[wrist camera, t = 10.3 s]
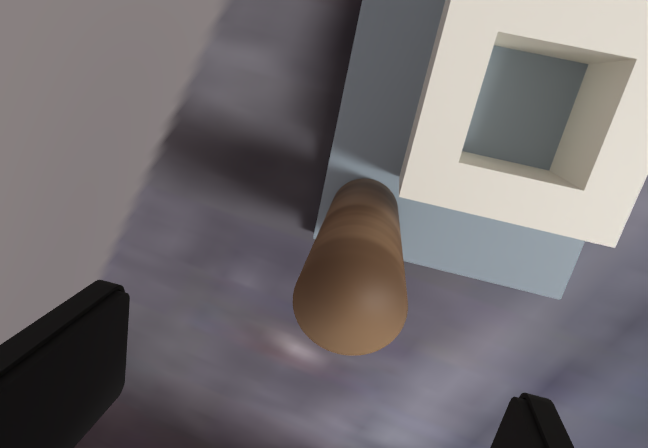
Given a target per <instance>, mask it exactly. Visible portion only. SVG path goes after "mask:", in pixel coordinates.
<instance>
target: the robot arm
mask: <svg viewBox="0 0 648 448" xmlns="http://www.w3.org/2000/svg"><path fill="white" fill-rule="evenodd" d="M129 301H130V298H129V294H128V293H125V290H124V287H123V286H121V285H118V284H114V283H111V282H107V281H103V280H97V281H95V282H94V283H92V284H90V285H89V286H88V287H86V288H85V289H83V290H82V291H80V292H79V293H77V294H76V295H74V296H73V297H71V298H70V299H68V300H67V301H65V302H64V303H62V304H61V305H59V306H58V307H56V308H55V309H53V310H52V311H50V312H49V313H47V314H46V315H44V316H43V317H41V318H40V319H38V320H37V321H35V322H34V323H32V324H31V325H29V326H28V327H26V328H25V329H23V330H22V331H20V332H19V333H17V334H16V335H15V336H13V337H11V338H10V339H9V340H7V341H6V342H4V343H3V344H1V345H0V448H74V447H75V445H76V444H77V443H78V442H79V441H80V440H81V439H82V437H83V436H84V435H85V434H86V433H87V432H88V431H89V430H90V428H91V427H92V426H93V425H94V424H95V423H96V422H97V420H98V419H99V418H100V417H101V416H102V415H103V414H104V412H105V411H106V410H107V409H108V408H109V407H110V406H111V405H112V403H113V402H114V401H115V400H116V399H117V398H118V396H119V395H120V393H121V391H122V389H123V387H124V383H125V369H126V352H127V335H128V318H129ZM491 448H574V446H573V444H572V442H571V440H570V438H569V436H568V434H567V432H566V429H565V427H564V425H563V423H562V421H561V419H560V417H559V415H558V412H557V410H556V408H555V406H554V404H553V402H552V401H551V400H549V399H547V398H543V397H539V396H535V395H532V394H528V393H522V394H521V395H520V397H519V398H518V397H513V398H512V399H511V400H510V402H509V405H508V407H507V409H506V412H505V414H504V417H503V419H502V421H501V424H500V426H499V429H498V431H497V433H496V436H495V438H494V440H493V443H492V445H491Z"/></svg>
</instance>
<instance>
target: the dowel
mask: <svg viewBox="0 0 648 448" xmlns="http://www.w3.org/2000/svg"><path fill="white" fill-rule="evenodd" d="M293 310H294V314H295V317H296V319H297V322H298V324H299V326H300V327H301V329H302V330H303V332H304V333H305V334H306V335H307V336H308V337H309V338H310V339H311V340H312V341H313V342H314V343H316V344H317V345H319V346H320V347H322V348H324V349H326V350H328V351H331V352H334V353H337V354H342V355H364V354H369V353H372V352H375V351H378V350H379V349H381V348H383V347H385V346H386V345H388V344H389V343H390V342H392V341H393V340H394V339H395V338H396V336H397V335H398V334H399V333H400V331H401V329H402V328H403V326H404V323H405V321H406V317H407V311H408V300H407V291H406V281H405V271H404V261H403V252H402V242H401V232H400V223H399V213H398V205H397V201H396V198H395V196H394V195H393V193H392V192H391V190H390V189H389V188H388V187H387V186H385V185H384V184H382V183H381V182H379V181H376V180H373V179H366V178H362V179H356V180H352V181H350V182H348V183H346V184H345V185H343V186H342V187H341V188H340V189H339V190H338V192H337V193H336V194H335V196H334V198H333V201H332V203H331V205H330V208H329V210H328V212H327V214H326V217H325V219H324V221H323V223H322V226H321V228H320V230H319V233H318V235H317V237H316V239H315V242H314V244H313V246H312V249H311V251H310V253H309V255H308V258H307V260H306V262H305V264H304V267H303V269H302V271H301V274H300V276H299V278H298V280H297V283H296V286H295V289H294V293H293Z"/></svg>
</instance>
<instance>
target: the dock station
mask: <svg viewBox="0 0 648 448" xmlns="http://www.w3.org/2000/svg"><path fill="white" fill-rule="evenodd" d="M647 175H648V0H362V4H361V9H360V14H359V19H358V23H357V28H356V33H355V38H354V43H353V48H352V52H351V57H350V62H349V67H348V72H347V77H346V81H345V86H344V91H343V96H342V101H341V106H340V111H339V115H338V120H337V125H336V130H335V135H334V140H333V144H332V149H331V154H330V159H329V164H328V169H327V173H326V178H325V183H324V188H323V193H322V198H321V203H320V207H319V212H318V217H317V222H316V227H315V232H314V236H313V238H314V239H316V237H317V235H318V233H319V230H320V228H321V226H322V223H323V221H324V219H325V217H326V214H327V212H328V210H329V208H330V205H331V203H332V201H333V198H334V196H335V194H336V193H337V192H338V190H339V189H340V188H341V187H342V186H343V185H345V184H346V183H348V182H350V181H352V180H356V179H362V178H366V179H373V180H376V181H379V182H381V183H382V184H384V185H385V186H387V187H388V188H389V189H390V190H391V192H392V193H393V195H394V196H395V198H396V201H397V205H398V213H399V223H400V232H401V242H402V252H403V261H406V262H410V263H414V264H418V265H422V266H426V267H430V268H434V269H438V270H442V271H446V272H450V273H454V274H458V275H462V276H466V277H470V278H474V279H478V280H482V281H487V282H491V283H495V284H499V285H503V286H507V287H511V288H515V289H519V290H523V291H527V292H531V293H535V294H539V295H543V296H547V297H551V298H555V299H559V300H561V298H562V295H563V293H564V290H565V288H566V286H567V283H568V281H569V278H570V276H571V274H572V271H573V269H574V266H575V264H576V262H577V259H578V257H579V255H580V252H581V250H582V247H583V245H584V243H585V241H588V242H592V243H596V244H600V245H605V246H609V247H613V248H615V247H616V244H617V242H618V240H619V238H620V235H621V233H622V231H623V229H624V226H625V224H626V222H627V220H628V217H629V215H630V213H631V211H632V208H633V206H634V204H635V202H636V199H637V197H638V195H639V193H640V190H641V188H642V186H643V184H644V181H645V179H646V177H647Z"/></svg>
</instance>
